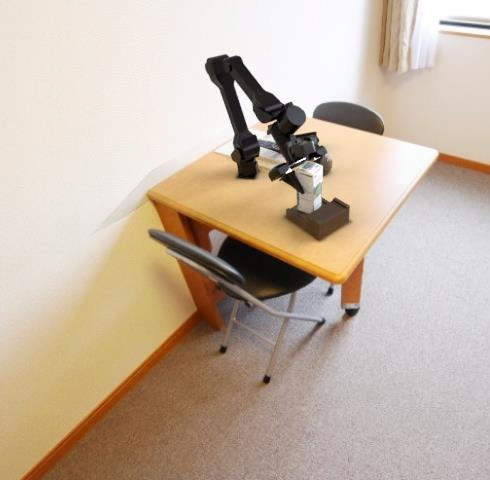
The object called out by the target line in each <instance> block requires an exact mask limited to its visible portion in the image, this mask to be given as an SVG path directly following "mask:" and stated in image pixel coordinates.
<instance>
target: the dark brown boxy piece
mask: <svg viewBox="0 0 490 480" xmlns="http://www.w3.org/2000/svg"><path fill="white" fill-rule="evenodd" d="M350 210H351V206H350V204H348V203H346V202H345V201H343V200H341V199H339V198H338V197H333V198H332V200H331V201H329V200H327V199H326V198H324V197H322V205H321V207H320V208H318V209H316V210H315V211H313V212H311V213H310V214H309V213H305V212H302V211H299V210H297V204H296V205H294V206H292V207H290V208H289V207H287V208H285V217H286V218H287V219H288V220H290V221H291V222H293V223H294V224H295V225H297V226H298V227H300V228H301V229H303V230H304V231H305V232H306V233H308V234H310V235H311V236H313V237H314V238H315V239H317V240H318V241H321V240H323V239H324V238H325V237H327V236H329V235H330V234H331V233H333V232H335V231H336V230H338V229H340V228H341V227H343V226H345V225H346V224H348V223H349V222H350Z"/></svg>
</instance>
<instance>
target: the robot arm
mask: <svg viewBox="0 0 490 480" xmlns="http://www.w3.org/2000/svg"><path fill="white" fill-rule="evenodd" d="M204 69H205V72H206V74H207V75H208V77H209V79H210V82H211V83H212V84H214V86H216V88H218V90H219V93H220V96H221V99H222V101H223V105H224V107H225V110H226V113H227V116H228V119H229V121H230V124H231V128H232V130H233V131H232V132H233V140H232V146H233V151H232V152H231V153H230V158H231V160H232V161H233V162H234V163H236V167H237V173H238V174H237V176H236V177H237V178H239V179H250V180H251V179H255V178H257V175H258V174H259V171H260V169H259V162H258V161H257V158H260V155H261V154H260V152H261V145H260V142H259V140H258V135H256V134H255V133H254V134H253V133H252V132H251V131H250V129H249V127H248V124H247V121H246V118H245V115H244V111H243V109H242V105H241V102H240V99H239V96H238V93H237V90H236V85H235V83H236V84H237V85H238V86H239V88H240V89H241V90H242V92H243V93H244V94H245V96H246V97H247V98H248V99H249V101H250V102H251V105H252V112H253V114H254V115H255V118H256V119H257V120H258V121H259V122H260V123H261V124H268V125H267V130H266V135H267V136H269V135H270V136H271V137H272V138H273V141H274V142H275V144H276V146H277V148H278V150H277V153H278V154H279V155H282V156H283V159H284V161H285V162H282V163H280V164H277V165H275V166H274V167H272V168H271V169H270V170H269V171H268V178H269V180H270V182H271V183H272V182H275V181H278V182H284V183H285V184H287V185H288V186H290V187H292V188H293V189H294V190H296V192H297V191H298V192H300V193H301V194H304V193H305V192H304V190H303V188H302V186H301V184H300V183H299V181H298V179H297V177H296V169H297V168H299V167H300V166H301V165H302V164H303V163H304V162H305V161H310V162H314V163H317V164H319V165H320V163H321V159H323V156H324V155H325V154H326V153H328V154H329V151H328V150H327V148H326V147H325V146H324V145H319V147H316V146H318V144H319V142H318V141H317V139H316V137H315V136H314V135H311V136H308V137H307V138H306V141H304V142H302V141H301V140H300V138H296V137H295V135H296V133H297V131H299V130H300V129H301V127H302V126H303V125H305V123H306V121H307V114H306V111H305V110H304V109H302V107H300V106H298V105H295V104H294V103H293V101H289V102H286V103H283V102H282V101H281V100H280V99H279V98H278V97H277V96H276V95H275V94H274V93H272V92H270V91H267V90H266V89H264V87H263V86H262V85H261V84H260V82H259V81H258V80H257V79H256V77H255V76H254V75H253V74H252V72H251V70H249V68H248V67H247V66H246V64H245V63H244V61H243V58H242V57H241V56H240V55H232V56H229V55H228V54H227V53H224V54H220V55H216V56H215V55H214V56H210V57H207V59H206V61H205V63H204ZM315 147H316V148H315ZM322 185H323V181H322Z"/></svg>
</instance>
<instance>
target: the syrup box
mask: <svg viewBox="0 0 490 480" xmlns="http://www.w3.org/2000/svg"><path fill="white" fill-rule="evenodd" d="M295 174H296V177H297V179H298V181H299V183H300V184H301V186H302V188H303V190H304V192H305V193H304V194H301V193H300V192H298V191H297V190H296V205H297V210H299V211H302V212H305V213H309V214H310V213H311V212H313V211H315V210H316V209H318V208H320V207H321V205H322V198H323V184H322V182H323V176H324V175H323V166H322V165H319V164H317V163H314V162H310V161H305V162H304V163H303V164H302V165H300V166H298V167H297V168H295Z"/></svg>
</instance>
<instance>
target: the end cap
mask: <svg viewBox="0 0 490 480" xmlns="http://www.w3.org/2000/svg"><path fill="white" fill-rule="evenodd" d="M294 135H295V137H296V138H300V140H301V141H302V142H304V141H306V138H307V137H308V136H311V135H314V136H315V137H316V139H317V141H318V146H316V147H319V146H320V145H319V143H320V138H319V137H318V132H317V131H309V132H303V133H297V134H294ZM316 147H315V148H316Z"/></svg>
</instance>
